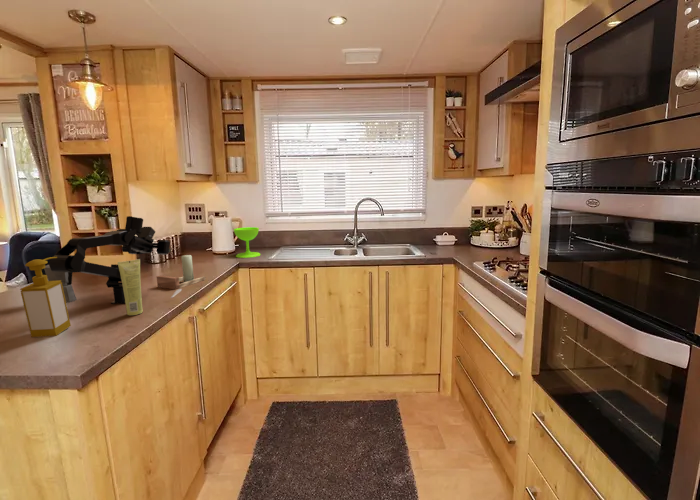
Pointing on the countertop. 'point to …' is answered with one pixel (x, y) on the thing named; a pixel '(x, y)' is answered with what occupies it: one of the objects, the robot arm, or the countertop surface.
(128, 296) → the tube
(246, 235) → the wineglass
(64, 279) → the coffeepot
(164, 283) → the brown piece
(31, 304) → the soap bottle
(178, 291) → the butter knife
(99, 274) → the robot arm
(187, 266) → the keeper post
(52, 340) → the countertop surface
